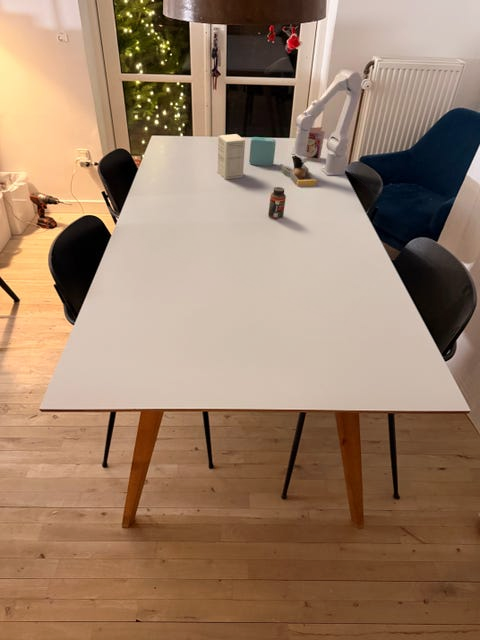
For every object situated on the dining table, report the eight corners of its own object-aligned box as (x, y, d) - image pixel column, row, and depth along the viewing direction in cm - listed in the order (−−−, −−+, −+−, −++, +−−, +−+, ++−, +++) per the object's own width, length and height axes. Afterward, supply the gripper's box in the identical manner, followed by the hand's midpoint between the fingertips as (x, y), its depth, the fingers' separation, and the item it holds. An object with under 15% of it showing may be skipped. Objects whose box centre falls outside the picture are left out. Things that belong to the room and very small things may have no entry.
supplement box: (235, 170, 208) (237, 133, 197) (243, 177, 201) (246, 139, 191) (216, 172, 204) (217, 135, 194) (224, 179, 198) (226, 141, 187)
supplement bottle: (278, 221, 169) (282, 193, 162) (265, 216, 171) (268, 189, 164) (285, 215, 173) (289, 188, 166) (272, 211, 175) (275, 184, 168)
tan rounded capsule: (302, 175, 208) (303, 167, 205) (306, 180, 204) (307, 171, 201) (292, 176, 207) (293, 167, 204) (295, 180, 203) (296, 171, 200)
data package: (273, 163, 218) (275, 138, 211) (273, 166, 215) (275, 141, 207) (249, 161, 219) (251, 136, 211) (248, 164, 215) (250, 139, 208)
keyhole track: (279, 169, 212) (280, 164, 211) (302, 168, 215) (303, 163, 214) (294, 186, 197) (294, 181, 195) (318, 185, 200) (319, 180, 198)
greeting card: (297, 159, 226) (301, 128, 216) (299, 154, 231) (303, 124, 222) (319, 162, 224) (324, 131, 215) (320, 157, 230) (325, 127, 220)
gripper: (287, 138, 203) (284, 167, 212) (298, 148, 193) (294, 178, 201) (301, 137, 205) (297, 166, 213) (313, 148, 194) (308, 178, 203)
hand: (296, 172), depth 207 cm, fingers closed
